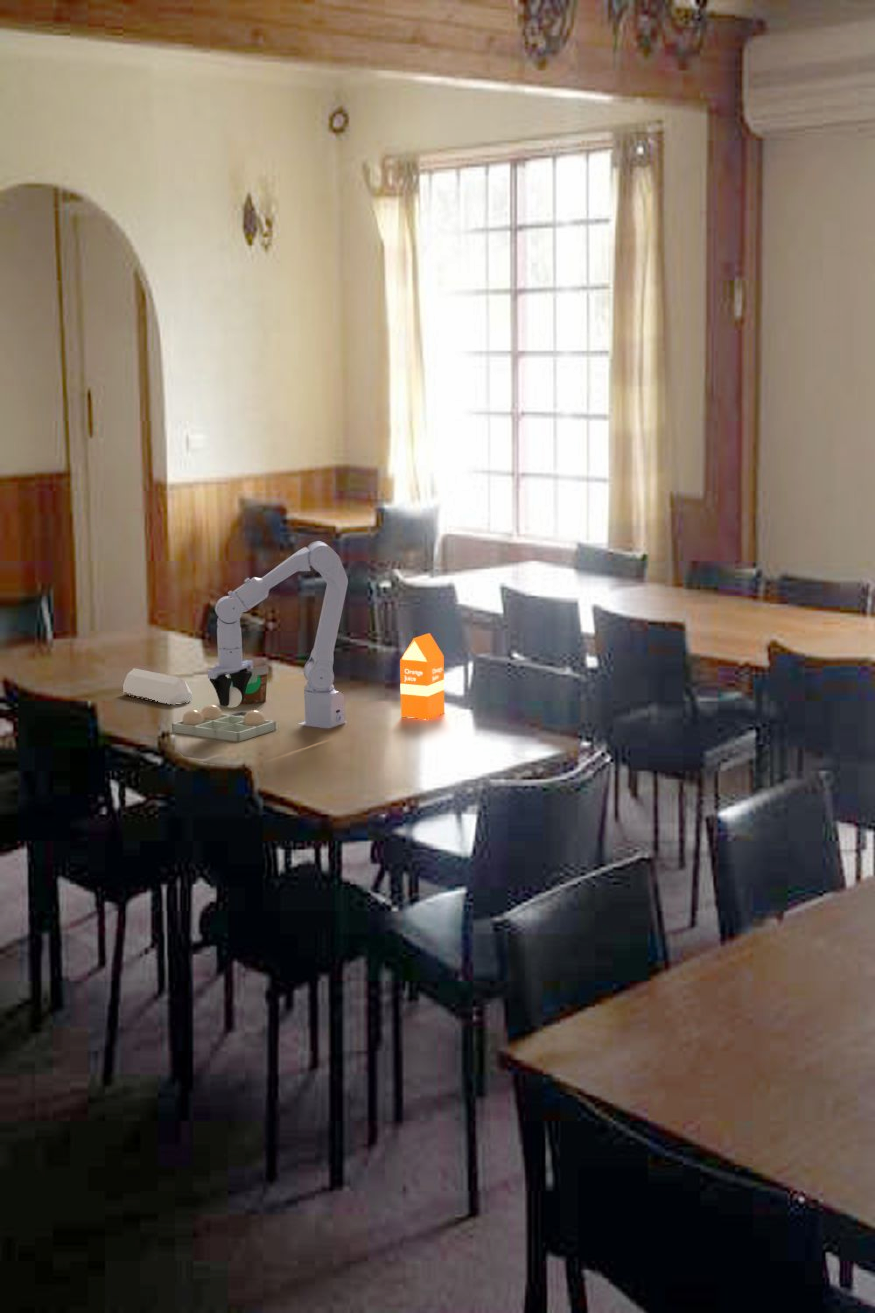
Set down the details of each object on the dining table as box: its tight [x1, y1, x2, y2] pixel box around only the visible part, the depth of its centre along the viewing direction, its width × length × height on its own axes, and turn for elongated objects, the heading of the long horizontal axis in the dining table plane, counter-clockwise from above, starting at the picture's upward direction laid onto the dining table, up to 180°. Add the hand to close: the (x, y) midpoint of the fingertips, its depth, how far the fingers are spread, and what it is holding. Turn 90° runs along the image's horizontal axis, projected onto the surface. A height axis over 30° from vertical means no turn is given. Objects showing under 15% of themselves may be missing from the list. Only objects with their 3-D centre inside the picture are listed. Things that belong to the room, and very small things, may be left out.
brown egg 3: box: [243, 709, 266, 727], centre depth 390 cm, size 5×5×5 cm
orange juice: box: [399, 632, 445, 721], centre depth 405 cm, size 8×9×20 cm
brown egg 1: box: [182, 709, 204, 726], centre depth 391 cm, size 5×5×5 cm
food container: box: [227, 665, 270, 705], centre depth 422 cm, size 12×6×10 cm, turn 62°
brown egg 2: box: [201, 703, 223, 720], centre depth 397 cm, size 5×5×5 cm
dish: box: [229, 711, 248, 716], centre depth 404 cm, size 7×7×1 cm
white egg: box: [226, 687, 242, 709], centre depth 392 cm, size 5×5×5 cm
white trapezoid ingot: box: [122, 667, 193, 705], centre depth 431 cm, size 7×7×24 cm
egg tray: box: [171, 713, 277, 743], centre depth 391 cm, size 20×14×3 cm
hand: (231, 703), depth 393 cm, fingers closed on white egg, 5 cm apart
